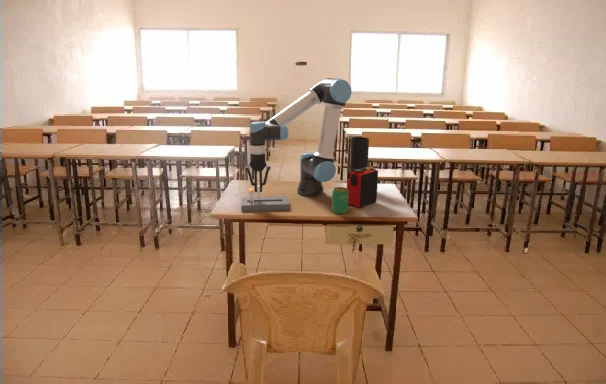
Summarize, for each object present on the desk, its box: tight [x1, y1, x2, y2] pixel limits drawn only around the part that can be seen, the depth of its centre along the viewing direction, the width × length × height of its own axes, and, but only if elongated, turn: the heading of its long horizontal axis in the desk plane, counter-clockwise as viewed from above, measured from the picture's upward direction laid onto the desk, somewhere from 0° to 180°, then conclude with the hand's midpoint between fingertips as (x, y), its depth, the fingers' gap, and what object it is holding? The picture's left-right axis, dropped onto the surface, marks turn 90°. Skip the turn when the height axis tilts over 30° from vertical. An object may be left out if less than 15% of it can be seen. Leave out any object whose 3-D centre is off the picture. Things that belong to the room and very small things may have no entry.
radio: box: [346, 166, 379, 209], centre depth 241 cm, size 16×10×20 cm, turn 134°
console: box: [240, 195, 290, 212], centre depth 237 cm, size 24×14×3 cm, turn 97°
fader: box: [249, 187, 255, 202], centre depth 235 cm, size 2×5×9 cm, turn 7°
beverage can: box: [331, 186, 349, 215], centre depth 228 cm, size 8×8×12 cm
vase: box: [349, 136, 370, 172], centre depth 266 cm, size 10×10×30 cm
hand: (258, 198), depth 236 cm, fingers closed
